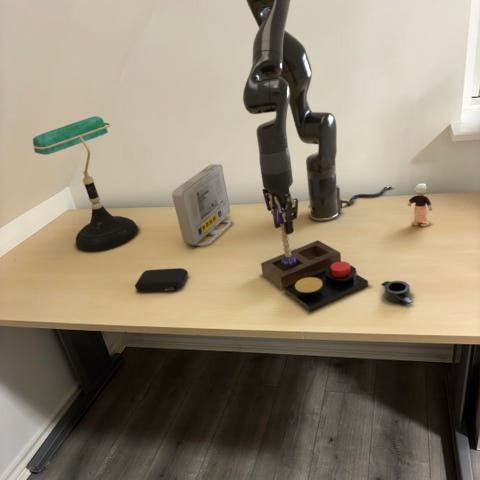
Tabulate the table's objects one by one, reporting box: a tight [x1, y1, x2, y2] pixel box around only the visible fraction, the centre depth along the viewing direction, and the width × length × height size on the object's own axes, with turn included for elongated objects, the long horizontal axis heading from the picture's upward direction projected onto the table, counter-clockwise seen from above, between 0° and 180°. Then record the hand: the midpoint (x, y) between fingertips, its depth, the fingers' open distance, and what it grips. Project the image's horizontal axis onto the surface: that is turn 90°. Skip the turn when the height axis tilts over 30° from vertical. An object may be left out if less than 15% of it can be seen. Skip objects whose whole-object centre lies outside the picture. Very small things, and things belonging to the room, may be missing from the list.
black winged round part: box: [380, 280, 415, 304], centre depth 122 cm, size 8×10×3 cm
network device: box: [171, 163, 232, 247], centre depth 166 cm, size 26×9×20 cm, turn 152°
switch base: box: [283, 264, 369, 313], centre depth 130 cm, size 18×12×4 cm, turn 117°
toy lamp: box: [273, 206, 297, 267], centre depth 133 cm, size 5×5×17 cm
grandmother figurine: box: [407, 183, 433, 228], centre depth 149 cm, size 8×4×13 cm, turn 58°
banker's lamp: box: [32, 115, 139, 253], centre depth 173 cm, size 26×23×40 cm
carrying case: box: [134, 267, 189, 292], centre depth 146 cm, size 11×3×15 cm
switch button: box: [331, 260, 351, 277], centre depth 130 cm, size 5×5×2 cm
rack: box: [260, 240, 342, 291], centre depth 140 cm, size 11×19×4 cm, turn 117°
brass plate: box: [295, 277, 323, 293], centre depth 127 cm, size 7×7×1 cm
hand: (284, 229), depth 132 cm, fingers closed on toy lamp, 4 cm apart
